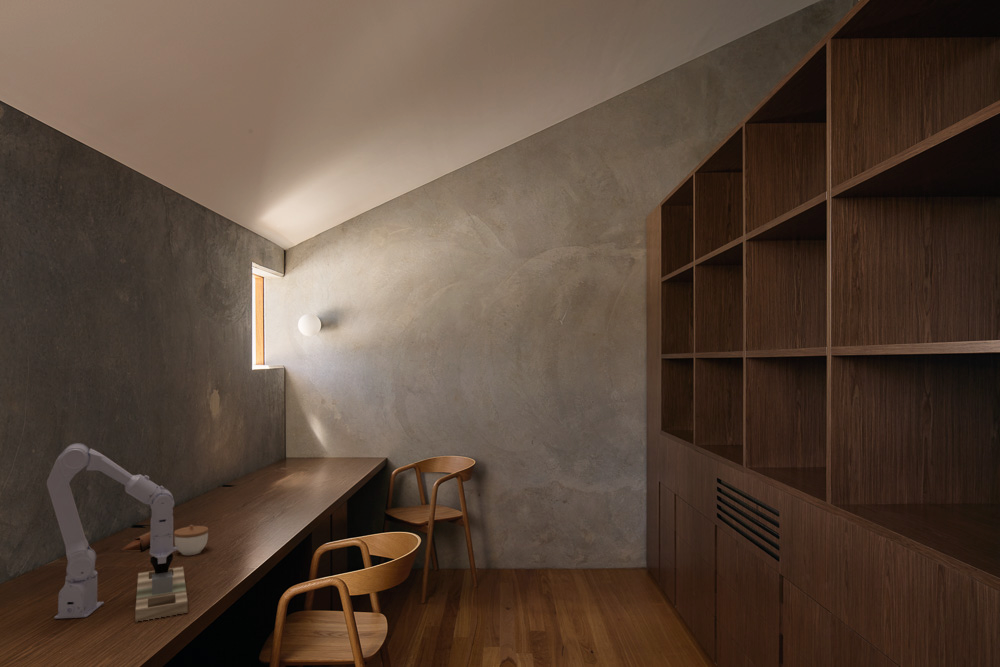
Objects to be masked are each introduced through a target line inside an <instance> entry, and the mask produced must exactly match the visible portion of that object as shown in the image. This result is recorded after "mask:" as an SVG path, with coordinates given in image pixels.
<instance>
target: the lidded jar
mask: <svg viewBox="0 0 1000 667" xmlns="http://www.w3.org/2000/svg"><path fill="white" fill-rule="evenodd" d="M208 540H209V528H208V526H205V525H193V524H190V525H189V526H185V527H181V528H178V529H175V530H174V531H173V542H174V545H175V546H174V547H178V550H177V552H179V553H180V554H181V555H183V556H195V555H198V554H200V553H202V550H204V548H205V547H206V545H207V543H208Z"/></svg>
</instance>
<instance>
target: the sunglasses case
mask: <svg viewBox="0 0 1000 667" xmlns="http://www.w3.org/2000/svg"><path fill="white" fill-rule="evenodd" d="M150 533H151V530H149V531H148V532H146V533H143V534H142V535H140V536H138V537H136V538H134V540H133V541H132V542H129V543H128V544H126V545H125V546H124V547H122V548H121V549H122V550H142V552H143V551H145V550H147V549H148V548H150Z"/></svg>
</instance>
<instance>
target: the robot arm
mask: <svg viewBox="0 0 1000 667" xmlns="http://www.w3.org/2000/svg"><path fill="white" fill-rule="evenodd" d="M85 467H86V468H85ZM84 468H85V469H86V471H98V472H102V473H103V474H104V475H106V476H108V477H109V478H111V479H113V480H114V481H117V482H118V483H121V485H124V490H125V493H127V494H128V495H130V496H132V497H133V498H135V499H136V500H138V501H140V502H141V503H143V504H145V505H150V509H151V517H150V531H151V533H150V546H149V548H150V549H149V552H148V553H149V555H150V561H149V562H150V564H151V565H152V567H153V571H154V570H155V574H159V573H166V572H168V569H169V568H170V566H171V563H172V562H173V560H174V556H173V555H174V552H176V551H177V552H178V547H176V546H174V515H173V514H174V510H173V508H174V507H175V500H174V496H173V494H172V493H171V491H169V489H167V488H165V486H163V485H160V486H159V485H158V484H157V483H155V482H153V481H152V480H150V476H149V475H146V474H144V475H142V474H131V473H130V472H128V471H127V470H126V469H125V468H123V467H122V466H120V465H118V464H117V463H115V462H114V461H113V460H112V459H110V458H109V457H107V456H106V455H104V454H102V453H101V452H99V451H97V450H95V449H93V448H89V447H88V446H87V445H86V444H84V443H81V442H79V443H78V442H77V443H71V444H70V445H68V446H67V447H66V448H64V450H62V452H61V453H60V454H59V455H58V457H57V459H56V460H55V461H54V465H53V466H52V468H51V472H50V473H49V476H48V478H47V480H46V488H47V490H48V494H49V496H50V500H51V503H52V506H53V510H54V514H55V517H56V519H57V523H58V527H59V530H60V533H61V536H62V540H63V543H64V546H65V555H66V558H67V566H66V575H65V578H64V579H65V583H64V585H63V586H62V588H61V589H60V591H59V592H58V600H57V601H58V603H57V604H58V605H57V606H58V607H57V609H58V610H57V611H58V613H57V614H56V615H55V616H54V619H55V620H56V619H73V618H74V619H77V618H87V617H89V616H90V615H91V614H92V613H94V612H95V611H96V610H97V609H98V608H100V607H101V606H103V605H104V601H98V571H97V570H96V569H95V568H96V561H97V553H96V551H95V550H94V549H93V548H91V546H90V543H89V541H88V540H87V537H86V535H85V532H84V528H83V524H82V522H81V521H82V520H81V518H80V515H79V512H78V508H77V505H76V502H75V498H74V495H73V491H72V489H71V485H70V483H71V481H72V479H73V478H74V477H75V475H76V474H78V473H79V472H80V471H81V470H83V469H84Z"/></svg>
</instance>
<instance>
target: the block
mask: <svg viewBox="0 0 1000 667" xmlns="http://www.w3.org/2000/svg"><path fill="white" fill-rule="evenodd" d="M167 592H173V575H172V572H166V573H159V574H152V595H155V594H161V593H167Z"/></svg>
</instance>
